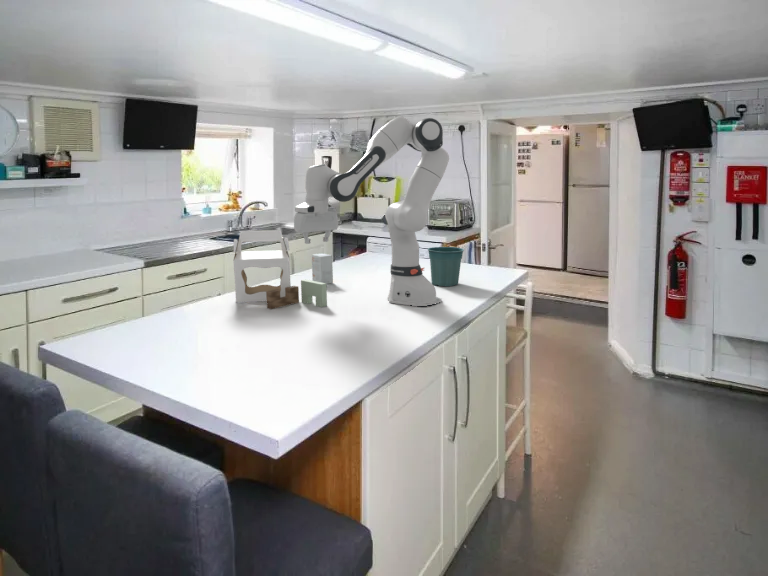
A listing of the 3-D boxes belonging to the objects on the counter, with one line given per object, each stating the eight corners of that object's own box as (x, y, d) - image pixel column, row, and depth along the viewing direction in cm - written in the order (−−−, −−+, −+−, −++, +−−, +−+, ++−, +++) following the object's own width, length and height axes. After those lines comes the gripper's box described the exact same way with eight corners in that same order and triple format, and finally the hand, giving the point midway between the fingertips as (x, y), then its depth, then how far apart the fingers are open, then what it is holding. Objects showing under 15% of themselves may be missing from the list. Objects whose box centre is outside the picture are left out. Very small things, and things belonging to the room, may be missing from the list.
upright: (294, 301, 234) (294, 285, 232) (299, 302, 232) (298, 286, 231) (267, 308, 223) (266, 291, 222) (271, 309, 222) (270, 292, 220)
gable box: (290, 292, 248) (288, 227, 242) (291, 300, 236) (289, 231, 230) (237, 295, 244) (233, 229, 238) (235, 303, 232) (231, 233, 226)
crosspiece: (327, 306, 226) (326, 283, 224) (322, 307, 224) (321, 284, 222) (306, 301, 234) (305, 279, 232) (301, 302, 232) (300, 280, 230)
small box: (333, 283, 267) (332, 255, 265) (321, 284, 264) (320, 256, 261) (323, 280, 274) (322, 252, 271) (312, 282, 270) (311, 254, 267)
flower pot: (436, 278, 276) (437, 245, 272) (468, 282, 268) (469, 247, 264) (420, 285, 262) (421, 250, 259) (454, 289, 254) (455, 253, 250)
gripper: (331, 205, 235) (330, 239, 238) (291, 207, 220) (291, 243, 223) (341, 206, 231) (341, 241, 233) (302, 208, 216) (302, 245, 218)
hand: (316, 242), depth 228 cm, fingers open, 8 cm apart
